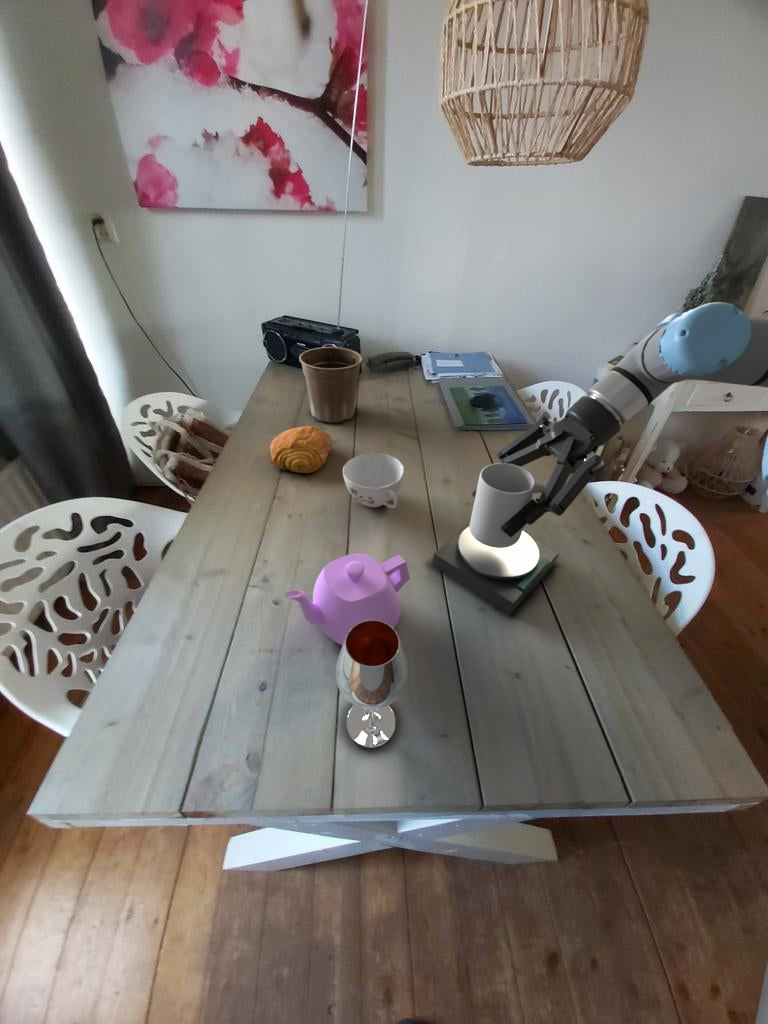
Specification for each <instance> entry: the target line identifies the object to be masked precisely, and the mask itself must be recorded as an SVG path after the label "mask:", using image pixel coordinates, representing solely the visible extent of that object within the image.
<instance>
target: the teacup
mask: <svg viewBox="0 0 768 1024" xmlns="http://www.w3.org/2000/svg"><path fill="white" fill-rule="evenodd" d="M404 475H405V467H404V465H403V464H402V463H401V461H400V460H399V459H398V458H396V457H394V456H391V455H389V454H383V453H379V452H373V453H372V452H365V453H361V454H359V455H356V456H354V457H351V458H350V459H349V460H347V461H346V463H345V464H344V465H343V467H342V476H343V480H344V483H345V486H346V488H347V490H348V492H349V494H350V495H351V496H352V498H354V499H355V500H356V501H357V502H359V503H360V504H361V505H364V506H365V507H370V508H379V507H382V506H385V507H387V508H389V509H395V508H397V506H398V496H397V494H398V492H399V491H400V488H401V486H402V484H403V480H404ZM391 500H393V504H392V503H389V502H390V501H391Z"/></svg>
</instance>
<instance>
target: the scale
mask: <svg viewBox="0 0 768 1024" xmlns="http://www.w3.org/2000/svg"><path fill="white" fill-rule="evenodd" d="M469 526H470V524H468V525H467V526H466V527H464V528H463V529H462V530H461V531H460V532H458V533H457V534H456V535H455V536H454V537H452V538H451V539H450V540H448V541H447V542H446V543H445V544H443V545H442V546H441V547H440V548H438V549H437V550H436V551H435V552H434V553H433V557H432V567H434V568H436V569H438V570H439V571H440V572H442V573H444V574H445V575H447V576H448V577H450V578H451V579H453V580H454V581H456V582H458V583H459V584H461V585H462V586H463V587H465V588H467V589H468V590H469V591H471V592H473V593H475V594H476V595H477V596H479V597H481V598H482V599H484V600H485V601H487V602H488V603H490V604H491V605H493V606H494V607H496V608H497V609H498V610H500V611H502V612H504V613H505V614H507V615H508V616H510V615H511V614H512V613H513V612H514V611H515V610H516V609H517V607H518V606H519V605H520V604H521V603H522V602H523V601H524V600H525V599H526V598H527V596H529V594H530V593H532V591H533V589H534V588H535V587H536V586H538V584H539V583H540V582H541V580H543V579H544V577H545V576H546V575H547V574H548V573H549V572H550V571H551V570H552V568H553V567H554V566H555V564H556V563H557V559H558V557H559V555H560V553H559V551H556V550H554V549H552V548H551V547H549V546H547V545H545V544H543V543H542V542H539V541H537V540H535V539H533V538H532V539H533V540H534V542H535V543H536V545H537V547H538V550H539V561H538V564H537V566H536V568H535V569H534V570H533V571H532V572H531V573H530V574H528V575H527V576H524V577H522V578H518V579H513V580H501V579H495V578H491V577H488V576H485V575H483V574H480V573H478V572H477V571H475V570H473V569H472V568H471V567H470V566H468V565H467V564H466V563H465V562H464V560H463V559H462V557H461V555H460V553H459V550H458V541H459V537H460V535H461V533H462V532H463V531H464V530H465V529H466V528H467V527H469Z"/></svg>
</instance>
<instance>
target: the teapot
mask: <svg viewBox="0 0 768 1024" xmlns="http://www.w3.org/2000/svg"><path fill="white" fill-rule="evenodd" d="M410 579H411V577H410V573H409V569H408V565H407V561H406V560H405V559H404V558H403V557H402V556H401V555H400V553H398V554H397V555H394V556H393V557H391V558H389V559H387V560H385V561H383V562H381V563H379V562H378V561H376V559H375V558H373V557H372V556H370V555H369V554H367V553H363V552H355V553H349V554H347V555H344V556H341V557H339V558H336V559H333V560H332V561H331V562H328V563H327V564H326V565H325V566H324V567H323V568H322V570H321V571H320V573H319V575H318V577H317V579H316V581H315V584H314V586H313V587H314V588H313V591H312V602H311V601H310V598H309V595H308V594H307V593H306V592H304V591H301V590H290V591H287V592H285V593H284V595H283V597H285V598H286V599H290V600H294V601H297V602H298V604H299V606H300V610H301V613H302V616H303V617H304V618H305V620H306V621H307V622H308V623H310V624H311V625H314V626H318V627H320V629H321V630H322V631H323V633H324V634H326V636H328V637H329V638H330V639H331V640H332V641H334V642H335V643H336V644H338V645H341V646H342V645H343V643H344V641H345V638H346V636H347V634H348V632H349V631H350V629H351V628H352V627H354V626H355V625H356V624H358V623H360V622H363V621H366V620H378V621H382V622H385V623H387V624H389V625H390V626H391V627H392V628H393V629H395V627H396V625H397V624H398V623H399V620H400V613H401V609H400V601H399V597H398V594H397V593H398V592H399V591H400V590H401V589H402V587H404V586H405V584H406V583H407V582H408V581H409V580H410Z"/></svg>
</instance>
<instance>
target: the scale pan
mask: <svg viewBox="0 0 768 1024" xmlns="http://www.w3.org/2000/svg"><path fill="white" fill-rule="evenodd" d="M466 527H467V526H466ZM466 527H465V528H466ZM465 528H464V529H465ZM534 540H535V539H534ZM534 540H533V538H532V536H530V535H529V534H528V533H526V532H525V531H524V530H522V534H521V537H520V539H519V540H518V542H517V543H516V544H514V545H512V546H510V547H506V548H494V547H490V546H487V545H484V544H482V543H480V542H479V541H477V540H476V539H475V538H474V537H473V535H472V534H471V532H470V526H469V527H467V528H466V529H465V530H464V531H463V532H462V533H461V535H460V537H459V541H458V550H459V553H460V555H461V557H462V559H463V560H464V562H465V563H466V564H467V565H468V566H470V567H471V568H472V569H473V570H475V571H477V572H478V573H480V574H483V575H485V576H488V577H491V578H495V579H501V580H513V579H518V578H522V577H524V576H527V575H528V574H530V573H531V572H532V571H533V570H534V569H535V568H536V566H537V564H538V561H539V550H538V547H537V545H536V543H535V542H534Z"/></svg>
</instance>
